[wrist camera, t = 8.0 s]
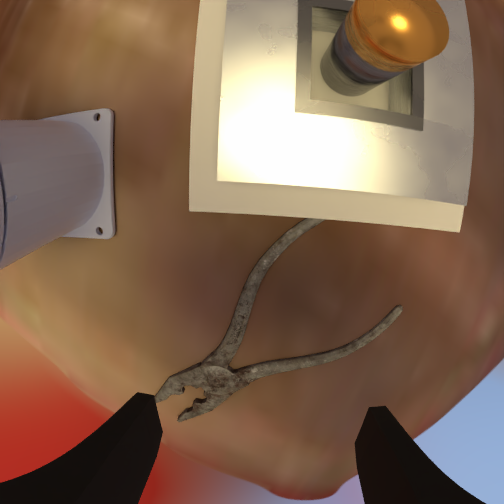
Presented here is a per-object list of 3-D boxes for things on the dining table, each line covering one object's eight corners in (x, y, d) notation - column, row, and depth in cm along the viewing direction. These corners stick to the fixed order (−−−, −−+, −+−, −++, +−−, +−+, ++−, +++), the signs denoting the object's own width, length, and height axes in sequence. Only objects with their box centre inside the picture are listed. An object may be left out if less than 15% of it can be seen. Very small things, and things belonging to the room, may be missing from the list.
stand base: (193, 207, 18) (189, 211, 17) (209, -39, 13) (206, -47, 12) (451, 228, 17) (459, 232, 16) (454, -1, 12) (461, -5, 11)
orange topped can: (321, 94, 14) (364, 50, 7) (318, 43, 13) (352, -32, 6) (376, 98, 14) (455, 68, 7) (372, 47, 13) (440, -12, 6)
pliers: (422, 292, 18) (245, 453, 24) (417, 286, 19) (246, 446, 25) (308, 198, 17) (147, 404, 23) (306, 195, 18) (150, 397, 23)
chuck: (226, 175, 16) (216, 181, 13) (238, -25, 12) (231, -54, 9) (439, 195, 16) (468, 206, 13) (439, 8, 12) (464, -9, 9)
